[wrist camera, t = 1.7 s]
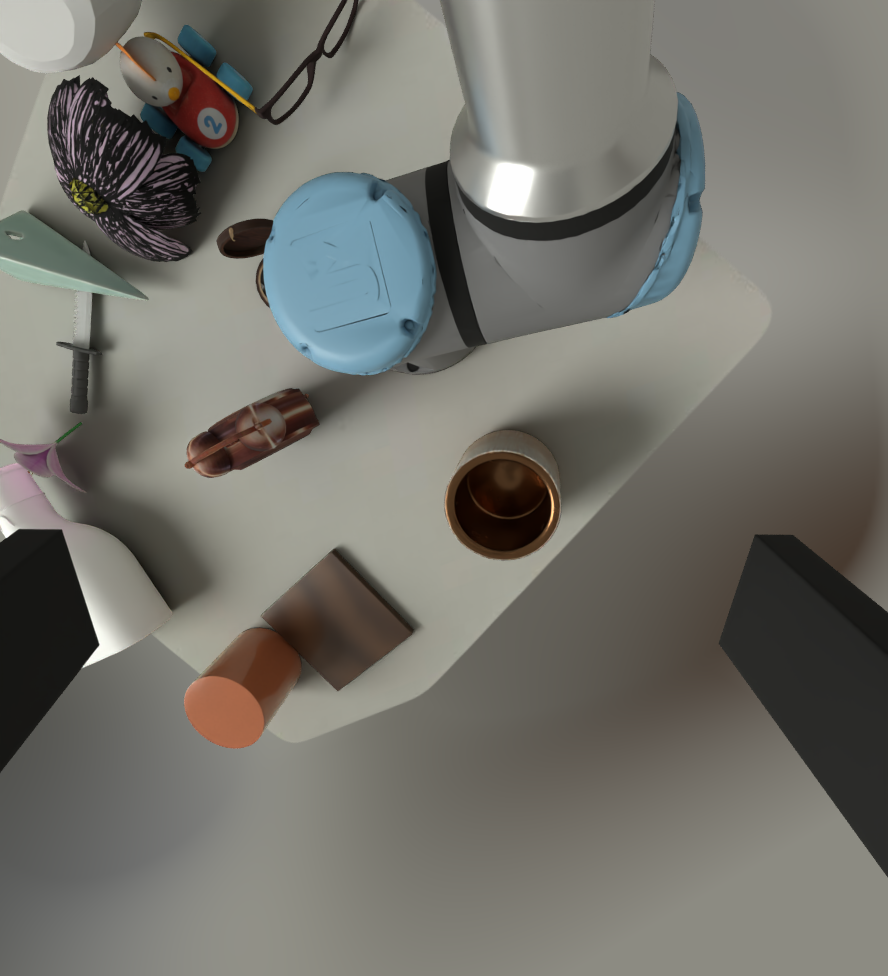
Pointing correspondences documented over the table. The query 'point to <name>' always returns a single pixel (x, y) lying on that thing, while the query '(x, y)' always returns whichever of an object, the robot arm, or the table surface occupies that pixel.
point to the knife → (81, 349)
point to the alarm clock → (252, 433)
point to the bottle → (89, 566)
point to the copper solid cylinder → (243, 688)
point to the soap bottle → (62, 31)
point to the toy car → (184, 93)
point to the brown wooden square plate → (337, 621)
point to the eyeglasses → (309, 62)
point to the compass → (247, 245)
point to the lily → (41, 458)
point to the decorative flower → (120, 171)
